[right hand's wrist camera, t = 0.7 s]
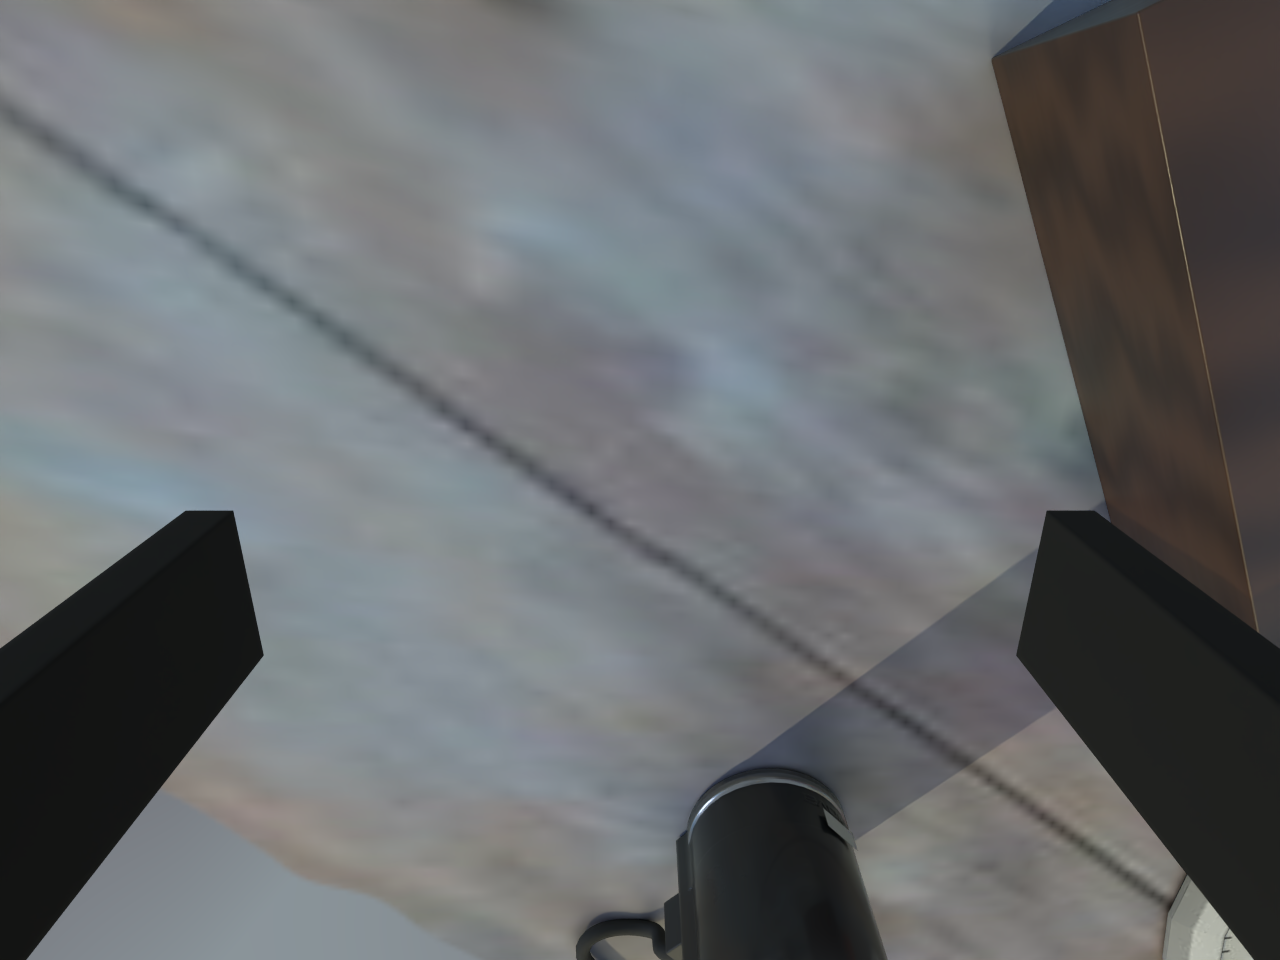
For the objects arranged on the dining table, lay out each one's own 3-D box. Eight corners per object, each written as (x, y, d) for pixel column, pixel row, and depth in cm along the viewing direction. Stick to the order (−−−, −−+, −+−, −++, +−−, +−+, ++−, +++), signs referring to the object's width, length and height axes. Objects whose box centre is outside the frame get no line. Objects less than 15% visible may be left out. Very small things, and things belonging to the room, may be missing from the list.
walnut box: (990, 59, 31) (1137, 11, 22) (1113, -1, 31) (1319, -76, 21) (1115, 543, 39) (1262, 657, 30) (1216, 505, 39) (1398, 610, 29)
